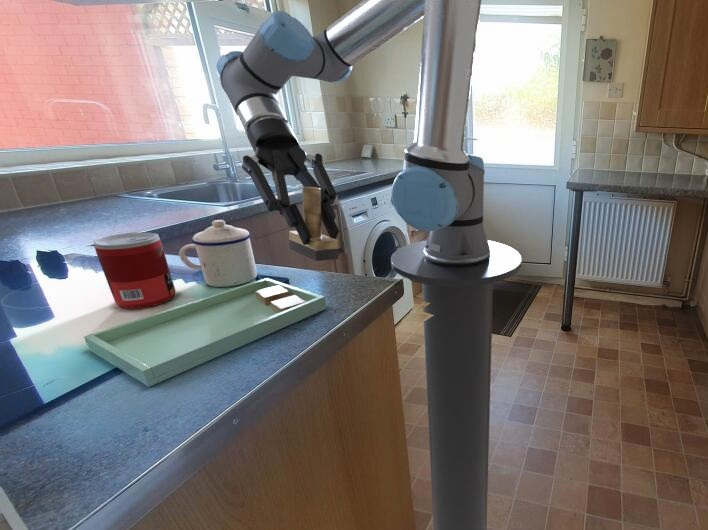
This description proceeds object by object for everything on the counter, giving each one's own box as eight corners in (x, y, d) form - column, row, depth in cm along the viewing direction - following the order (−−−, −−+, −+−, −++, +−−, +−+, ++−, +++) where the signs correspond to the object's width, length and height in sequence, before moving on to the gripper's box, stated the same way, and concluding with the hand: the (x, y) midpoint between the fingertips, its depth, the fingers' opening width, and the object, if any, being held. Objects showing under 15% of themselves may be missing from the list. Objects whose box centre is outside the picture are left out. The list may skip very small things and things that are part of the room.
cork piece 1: (280, 292, 74) (279, 284, 73) (290, 298, 71) (289, 291, 71) (256, 298, 71) (254, 290, 70) (265, 305, 68) (264, 297, 68)
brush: (311, 247, 78) (309, 184, 75) (338, 258, 73) (337, 191, 69) (289, 249, 75) (286, 183, 72) (316, 261, 70) (314, 190, 66)
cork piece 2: (296, 302, 70) (295, 294, 69) (307, 309, 68) (306, 301, 67) (271, 309, 67) (270, 301, 67) (282, 317, 65) (280, 309, 64)
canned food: (185, 297, 72) (167, 237, 67) (127, 314, 65) (103, 248, 61) (165, 287, 75) (146, 229, 71) (108, 302, 69) (84, 239, 65)
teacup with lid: (264, 269, 85) (252, 214, 81) (252, 286, 77) (238, 226, 73) (197, 273, 82) (181, 216, 78) (177, 291, 74) (158, 228, 70)
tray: (269, 289, 77) (266, 277, 76) (326, 308, 70) (325, 296, 69) (89, 350, 56) (83, 336, 55) (148, 387, 49) (142, 371, 48)
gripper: (312, 144, 83) (361, 240, 80) (212, 145, 71) (265, 258, 68) (320, 117, 78) (373, 218, 74) (214, 113, 66) (271, 234, 62)
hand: (321, 237), depth 71 cm, fingers closed on brush, 4 cm apart
